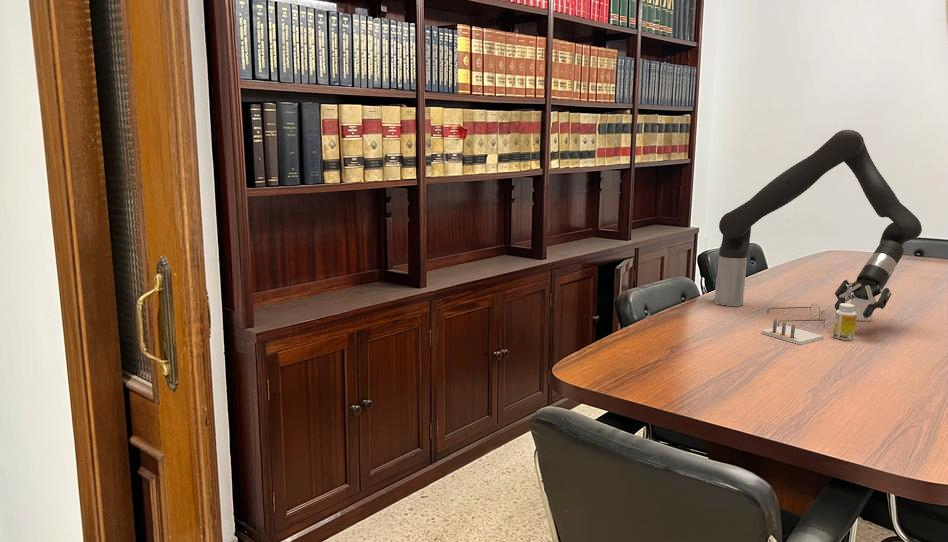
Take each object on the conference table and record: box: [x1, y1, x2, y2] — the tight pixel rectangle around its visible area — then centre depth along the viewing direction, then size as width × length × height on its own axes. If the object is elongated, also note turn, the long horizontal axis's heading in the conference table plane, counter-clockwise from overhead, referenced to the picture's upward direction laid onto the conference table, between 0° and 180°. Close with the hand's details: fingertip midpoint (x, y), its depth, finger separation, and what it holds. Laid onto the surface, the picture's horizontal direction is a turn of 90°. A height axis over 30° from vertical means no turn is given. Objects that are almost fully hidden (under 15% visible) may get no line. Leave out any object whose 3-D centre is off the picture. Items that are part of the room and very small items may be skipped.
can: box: [850, 292, 874, 323], centre depth 224 cm, size 6×6×12 cm
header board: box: [761, 319, 825, 345], centre depth 206 cm, size 13×11×5 cm
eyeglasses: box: [766, 303, 826, 328], centre depth 223 cm, size 16×15×5 cm
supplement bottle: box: [833, 302, 857, 341], centre depth 204 cm, size 6×6×10 cm
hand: (850, 313), depth 205 cm, fingers open, 8 cm apart
